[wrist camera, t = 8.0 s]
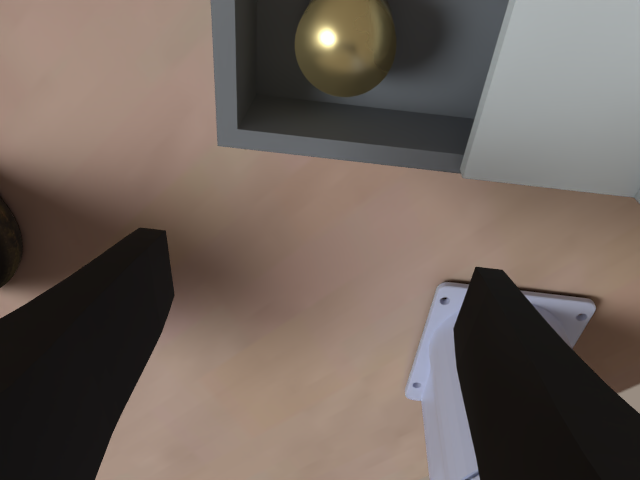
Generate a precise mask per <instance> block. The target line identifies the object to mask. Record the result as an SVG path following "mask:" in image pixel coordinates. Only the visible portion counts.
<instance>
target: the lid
mask: <svg viewBox="0 0 640 480" xmlns="http://www.w3.org/2000/svg"><path fill="white" fill-rule="evenodd" d="M460 172H461V175H462V178H466V179H475V180H484V181H493V182H501V183H510V184H519V185H528V186H536V187H545V188H554V189H563V190H571V191H580V192H589V193H598V194H607V195H615V196H624V197H633V198H635V199H636V200H637V202H638V203H639V204H640V0H509V2H508V6H507V9H506V13H505V16H504V20H503V23H502V26H501V30H500V33H499V37H498V40H497V44H496V47H495V50H494V54H493V57H492V61H491V64H490V68H489V71H488V74H487V78H486V81H485V85H484V88H483V92H482V95H481V98H480V102H479V105H478V109H477V112H476V116H475V119H474V122H473V126H472V129H471V133H470V136H469V140H468V143H467V146H466V150H465V153H464V157H463V160H462V164H461V167H460Z"/></svg>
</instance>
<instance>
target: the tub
mask: <svg viewBox="0 0 640 480" xmlns="http://www.w3.org/2000/svg"><path fill="white" fill-rule="evenodd" d="M309 2H310V0H211V16H212V37H213V58H214V79H215V100H216V120H217V141H218V146H223V147H232V148H241V149H250V150H258V151H267V152H276V153H285V154H294V155H302V156H311V157H320V158H329V159H338V160H346V161H355V162H364V163H373V164H381V165H390V166H399V167H408V168H417V169H425V170H434V171H443V172H452V173H461V172H460V167H461V164H462V160H463V157H464V153H465V150H466V146H467V143H468V140H469V136H470V133H471V129H472V126H473V122H474V119H475V116H476V112H477V109H478V105H479V102H480V98H481V95H482V92H483V88H484V85H485V81H486V78H487V74H488V71H489V68H490V64H491V61H492V57H493V54H494V50H495V47H496V44H497V40H498V37H499V33H500V30H501V26H502V23H503V20H504V16H505V13H506V9H507V6H508V2H509V0H387V2H388V4H389V6H390V9H391V13H392V17H393V22H394V27H395V33H396V44H397V46H396V54H395V58H394V61H393V64H392V67H391V68H390V70H389V72H388V74H387V75H386V77H385V78H384V79H383V80H382V81H381V82H380V83H379V84H378V85H377V86H376V87H374V88H373V89H371V90H370V91H368V92H366V93H364V94H361V95H358V96H353V97H337V96H332V95H329V94H326V93H324V92H322V91H320V90H319V89H317V88H316V87H315V86H313V85H312V84H311V83H310V82H309V81H308V80H307V78H306V77H305V76H304V74H303V73H302V71H301V69H300V67H299V65H298V62H297V58H296V54H295V35H296V31H297V27H298V24H299V22H300V20H301V18H302V16H303V14H304V12H305V10H306V8H307V6H308V4H309Z"/></svg>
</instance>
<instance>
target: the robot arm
mask: <svg viewBox="0 0 640 480" xmlns="http://www.w3.org/2000/svg"><path fill="white" fill-rule="evenodd" d="M443 297H447V299H441V298H443ZM173 298H174V289H173V281H172V274H171V267H170V259H169V252H168V244H167V237H166V231H165V230H156V229H147V228H139V229H137V230H135V231H134V232H132V233H131V234H129V235H128V236H127V237H125V238H124V239H122V240H121V241H119V242H118V243H117V244H115V245H114V246H112V247H111V248H110V249H108V250H107V251H105V252H104V253H103V254H101V255H100V256H98V257H97V258H95V259H94V260H93V261H91V262H90V263H88V264H87V265H85V266H84V267H82V268H81V269H80V270H78V271H77V272H75V273H74V274H72V275H71V276H69V277H68V278H66V279H65V280H63V281H62V282H60V283H58V284H57V285H55V286H54V287H52V288H50V289H49V290H47V291H46V292H44V293H43V294H41V295H39V296H38V297H36V298H35V299H33V300H31V301H30V302H28V303H27V304H25V305H23V306H22V307H20V308H18V309H16V310H15V311H13V312H11V313H9V314H8V315H6V316H4V317H2V318H0V480H95V478H96V475H97V473H98V470H99V467H100V465H101V462H102V459H103V457H104V454H105V451H106V449H107V446H108V444H109V441H110V438H111V436H112V433H113V431H114V429H115V427H116V424H117V422H118V420H119V418H120V416H121V414H122V412H123V410H124V408H125V406H126V404H127V402H128V400H129V398H130V396H131V394H132V392H133V390H134V388H135V386H136V384H137V382H138V380H139V378H140V376H141V374H142V372H143V370H144V368H145V366H146V364H147V362H148V360H149V358H150V356H151V354H152V352H153V350H154V348H155V346H156V344H157V341H158V339H159V337H160V335H161V333H162V330H163V328H164V325H165V322H166V319H167V316H168V313H169V310H170V307H171V304H172V301H173ZM595 310H596V306H595V304H594V302H593V301H592V300H591V299H588V298H580V297H572V296H563V295H555V294H546V293H538V292H529V291H521V290H519V288H518V287H517V286H516V285H515V284H514V283H513V281H512V280H511V279H510V278H509V277H508V276H507V274H506V273H505V272H504V271H503V270H499V269H490V268H482V267H475V270H474V273H473V276H472V278H471V281H470V284H461V283H453V282H444V283H441V284H440V285H438V287H437V289H436V292H435V295H434V298H433V302H432V305H431V308H430V311H429V314H428V318H427V321H426V324H425V327H424V330H423V334H422V337H421V340H420V343H419V346H418V350H417V353H416V356H415V359H414V363H413V366H412V369H411V372H410V375H409V379H408V382H407V385H406V388H405V396H406V397H407V398H408V399H411V400H418V401H421V402H422V412H423V421H424V431H425V440H426V450H427V459H428V469H429V479H430V480H640V414H639V413H638V412H637V411H636V410H635V409H634V408H632V407H631V406H630V405H629V404H628V403H627V402H626V401H625V400H623V399H622V398H621V397H620V396H619V395H618V394H617V393H616V392H614V391H613V390H612V389H611V388H610V387H609V386H608V385H607V384H606V383H605V382H604V381H603V380H602V379H601V378H600V377H599V376H598V375H597V374H596V373H595V372H594V371H593V370H592V369H591V368H590V367H589V366H588V365H587V364H586V363H585V362H584V361H583V360H582V359H581V358H580V357H579V356H578V355H577V354H576V353H575V352H574V351H573V347H574V345H575V343H576V342H577V340H578V338H579V337H580V335H581V334H582V332H583V330H584V329H585V327H586V325H587V324H588V322H589V320H590V319H591V317H592V315H593V314H594V312H595ZM579 314H581V315H579Z"/></svg>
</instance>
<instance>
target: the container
mask: <svg viewBox="0 0 640 480" xmlns="http://www.w3.org/2000/svg"><path fill="white" fill-rule="evenodd" d="M21 257H22V238H21V234H20V230H19V227H18V225H17V223H16V221H15V218H14V217H13V215H12V213H11V211H10V210H9V208H8V207H7V205H6V204H5V203H4V202H3V200H2V199H1V198H0V288H1V287H2V286H3V285H5V284H6V283H7V282H8V281H9V280H10V279H11V278H12V277H13V275H14V273H15V272H16V270H17V268H18V265H19V263H20V260H21Z"/></svg>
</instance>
